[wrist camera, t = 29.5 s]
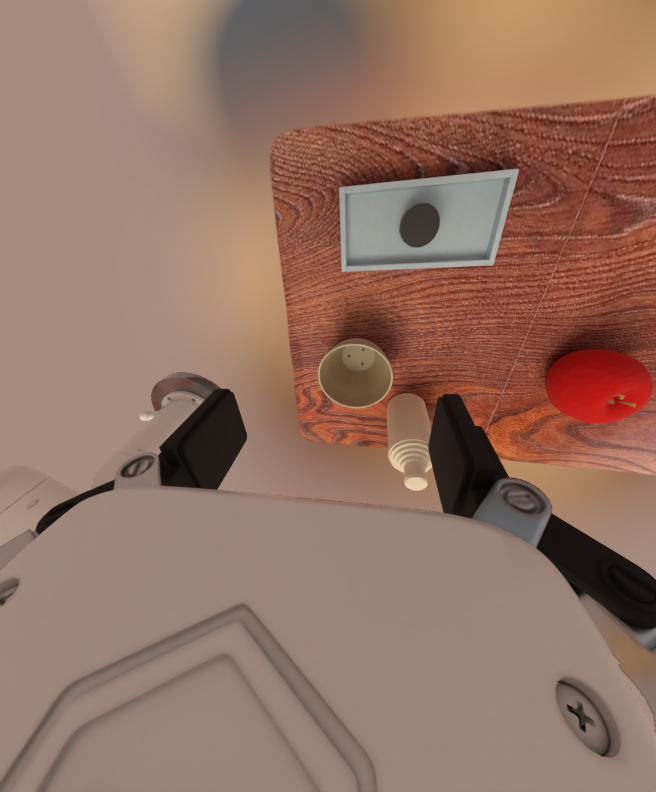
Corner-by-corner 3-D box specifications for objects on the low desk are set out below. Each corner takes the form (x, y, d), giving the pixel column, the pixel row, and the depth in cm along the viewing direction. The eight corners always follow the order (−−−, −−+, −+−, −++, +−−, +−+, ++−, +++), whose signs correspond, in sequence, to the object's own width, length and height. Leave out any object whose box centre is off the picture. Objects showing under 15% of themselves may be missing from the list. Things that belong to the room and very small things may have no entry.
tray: (343, 269, 33) (341, 272, 32) (341, 188, 29) (338, 187, 27) (487, 262, 30) (493, 265, 28) (510, 171, 26) (519, 168, 24)
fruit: (631, 362, 34) (711, 407, 25) (562, 406, 39) (610, 455, 31) (583, 324, 32) (651, 360, 24) (518, 375, 37) (556, 419, 29)
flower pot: (320, 329, 38) (309, 348, 32) (388, 319, 36) (390, 338, 30) (333, 385, 44) (325, 410, 38) (393, 380, 41) (395, 406, 35)
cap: (440, 233, 29) (445, 234, 27) (406, 252, 30) (408, 255, 28) (428, 196, 27) (432, 193, 25) (393, 218, 29) (395, 218, 27)
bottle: (386, 421, 46) (388, 497, 34) (387, 392, 43) (390, 464, 30) (423, 423, 45) (439, 502, 32) (427, 393, 41) (448, 468, 29)
